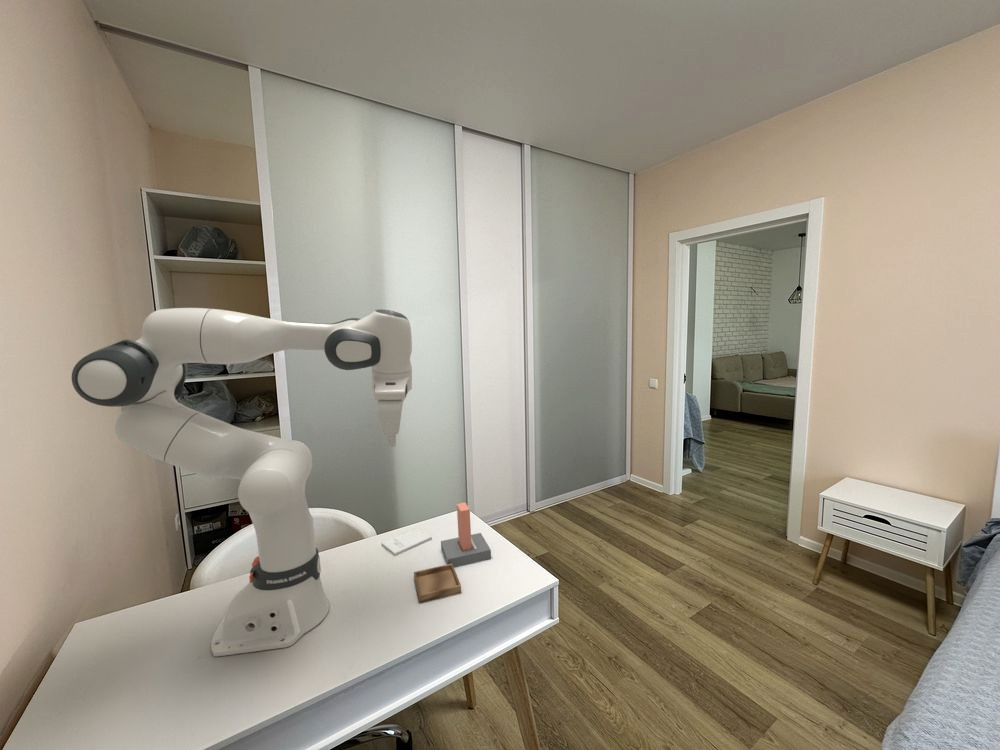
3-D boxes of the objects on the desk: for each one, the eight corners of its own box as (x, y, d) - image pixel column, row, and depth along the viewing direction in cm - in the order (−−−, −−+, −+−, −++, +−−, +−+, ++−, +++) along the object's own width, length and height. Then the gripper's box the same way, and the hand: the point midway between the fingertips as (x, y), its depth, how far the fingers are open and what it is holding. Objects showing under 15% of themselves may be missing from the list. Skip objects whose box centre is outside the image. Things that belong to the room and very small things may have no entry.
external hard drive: (432, 541, 122) (394, 558, 113) (417, 532, 128) (381, 547, 119) (431, 536, 121) (394, 552, 113) (417, 527, 127) (381, 542, 119)
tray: (419, 603, 93) (418, 596, 93) (414, 578, 102) (413, 572, 102) (461, 592, 96) (460, 585, 96) (452, 569, 106) (452, 563, 105)
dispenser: (448, 568, 106) (447, 557, 106) (441, 549, 116) (440, 539, 115) (491, 558, 110) (490, 548, 110) (481, 541, 119) (480, 531, 119)
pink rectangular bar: (463, 559, 110) (460, 511, 109) (459, 550, 115) (456, 503, 113) (472, 557, 111) (469, 509, 109) (467, 548, 116) (465, 502, 114)
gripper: (381, 370, 101) (383, 421, 104) (373, 394, 81) (374, 457, 85) (407, 370, 102) (407, 421, 106) (404, 394, 83) (405, 455, 86)
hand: (393, 437), depth 95 cm, fingers open, 8 cm apart
